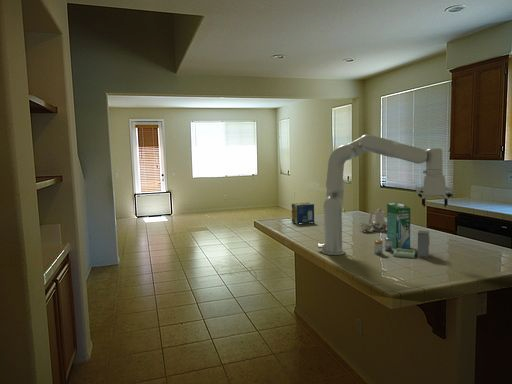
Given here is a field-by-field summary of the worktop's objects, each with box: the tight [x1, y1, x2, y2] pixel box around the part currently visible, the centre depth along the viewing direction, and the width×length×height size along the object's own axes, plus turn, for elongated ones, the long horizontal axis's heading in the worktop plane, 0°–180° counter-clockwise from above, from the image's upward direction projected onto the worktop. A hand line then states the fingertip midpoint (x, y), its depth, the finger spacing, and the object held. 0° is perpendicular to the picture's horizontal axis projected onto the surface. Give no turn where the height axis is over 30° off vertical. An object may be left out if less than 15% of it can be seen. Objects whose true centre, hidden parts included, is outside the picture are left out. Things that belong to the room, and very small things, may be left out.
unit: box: [417, 230, 431, 259], centre depth 197 cm, size 5×7×13 cm
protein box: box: [291, 202, 315, 225], centre depth 304 cm, size 10×15×16 cm
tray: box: [393, 248, 417, 259], centre depth 201 cm, size 10×10×2 cm
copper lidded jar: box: [374, 239, 384, 256], centre depth 204 cm, size 4×4×7 cm
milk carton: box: [386, 201, 411, 250], centre depth 218 cm, size 9×9×25 cm
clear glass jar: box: [384, 236, 393, 252], centre depth 211 cm, size 4×4×7 cm
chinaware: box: [358, 207, 387, 232], centre depth 263 cm, size 28×17×17 cm, turn 76°
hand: (434, 206), depth 193 cm, fingers open, 9 cm apart
